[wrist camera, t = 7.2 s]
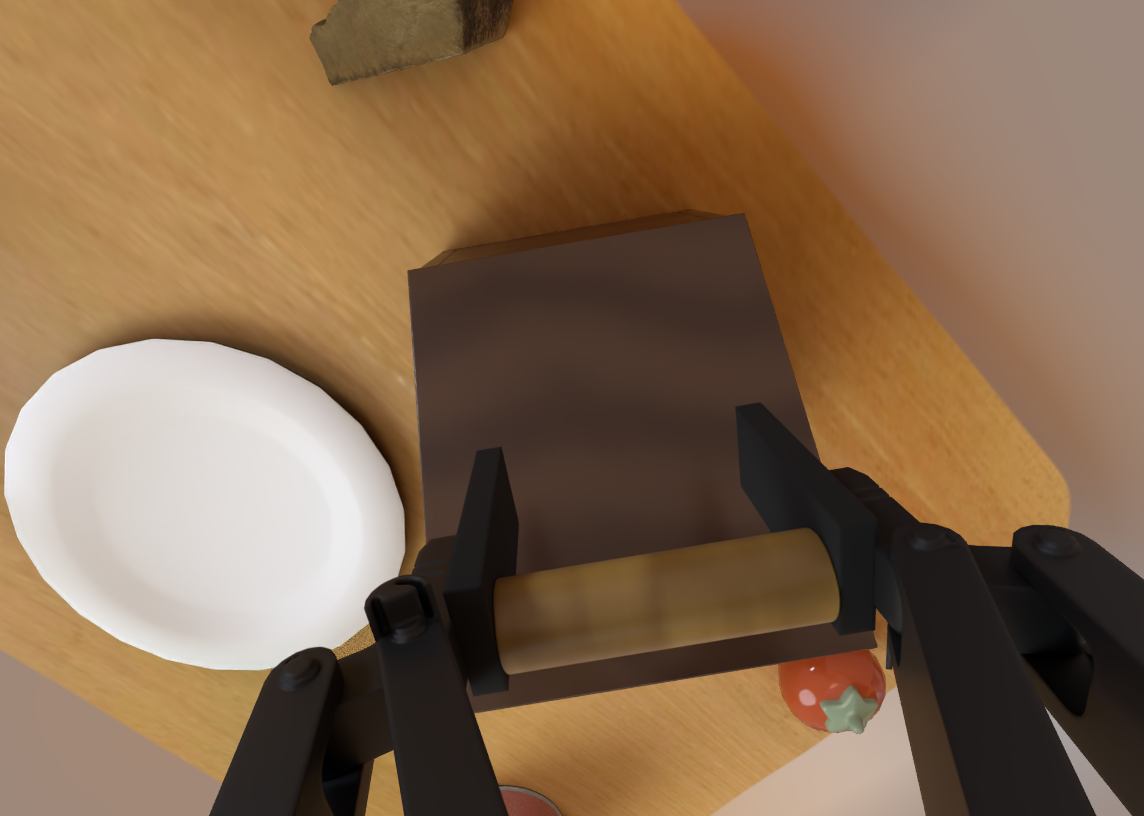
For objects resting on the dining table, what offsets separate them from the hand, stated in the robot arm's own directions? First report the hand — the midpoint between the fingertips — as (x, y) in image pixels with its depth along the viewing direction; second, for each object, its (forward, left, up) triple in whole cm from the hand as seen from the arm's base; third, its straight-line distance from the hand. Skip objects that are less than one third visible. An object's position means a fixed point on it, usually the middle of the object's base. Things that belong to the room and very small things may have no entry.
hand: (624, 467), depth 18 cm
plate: (+26, +9, -20) cm, 34 cm away
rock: (+6, -17, -20) cm, 27 cm away
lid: (0, +1, -5) cm, 5 cm away
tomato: (-14, +29, -20) cm, 38 cm away
